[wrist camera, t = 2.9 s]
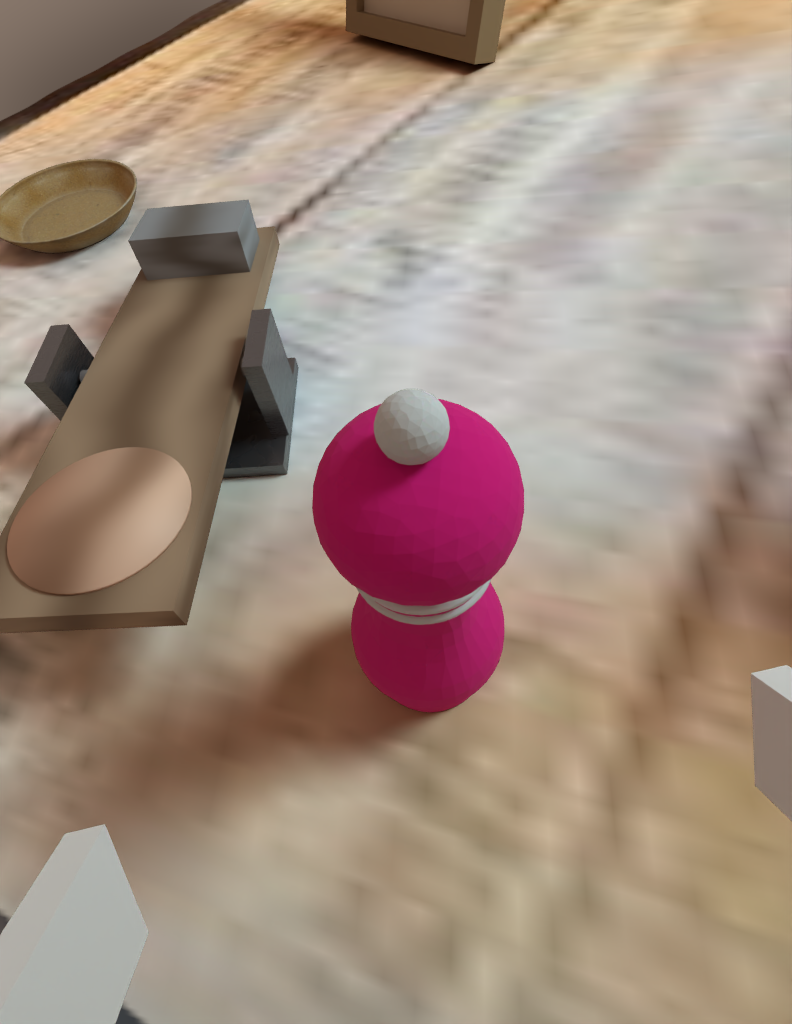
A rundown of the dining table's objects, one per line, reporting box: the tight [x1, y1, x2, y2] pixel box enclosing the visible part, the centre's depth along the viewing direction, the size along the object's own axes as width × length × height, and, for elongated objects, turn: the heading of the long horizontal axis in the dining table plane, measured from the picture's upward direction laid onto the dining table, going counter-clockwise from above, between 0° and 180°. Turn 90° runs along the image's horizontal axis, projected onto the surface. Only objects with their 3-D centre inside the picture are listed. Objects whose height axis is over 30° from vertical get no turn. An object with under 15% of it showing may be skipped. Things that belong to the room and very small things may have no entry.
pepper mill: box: [312, 389, 524, 712], centre depth 20 cm, size 7×7×20 cm
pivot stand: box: [25, 309, 298, 478], centre depth 35 cm, size 14×10×7 cm
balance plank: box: [0, 200, 280, 633], centre depth 33 cm, size 11×35×4 cm, turn 1°
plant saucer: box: [0, 159, 137, 253], centre depth 53 cm, size 15×15×3 cm
